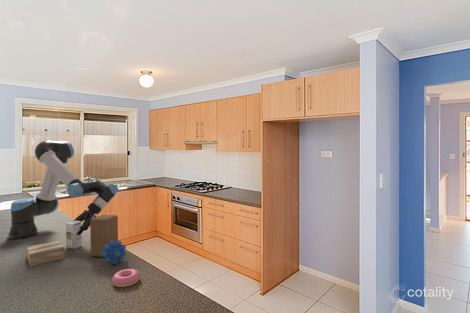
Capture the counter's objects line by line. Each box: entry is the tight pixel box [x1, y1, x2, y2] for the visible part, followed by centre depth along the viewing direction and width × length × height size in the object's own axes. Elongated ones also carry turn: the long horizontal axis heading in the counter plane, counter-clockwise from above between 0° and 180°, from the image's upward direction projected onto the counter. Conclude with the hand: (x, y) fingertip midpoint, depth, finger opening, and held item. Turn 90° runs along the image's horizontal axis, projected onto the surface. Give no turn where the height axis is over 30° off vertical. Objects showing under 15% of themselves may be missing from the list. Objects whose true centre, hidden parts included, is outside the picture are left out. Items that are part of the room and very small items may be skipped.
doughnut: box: [111, 268, 141, 288], centre depth 113 cm, size 11×11×4 cm
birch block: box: [26, 240, 65, 267], centre depth 138 cm, size 14×14×6 cm
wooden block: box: [89, 214, 119, 258], centre depth 143 cm, size 10×10×20 cm
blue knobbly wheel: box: [102, 240, 127, 265], centre depth 130 cm, size 12×7×12 cm, turn 135°
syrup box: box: [65, 220, 83, 250], centre depth 153 cm, size 6×6×14 cm
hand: (69, 237), depth 151 cm, fingers open, 12 cm apart
